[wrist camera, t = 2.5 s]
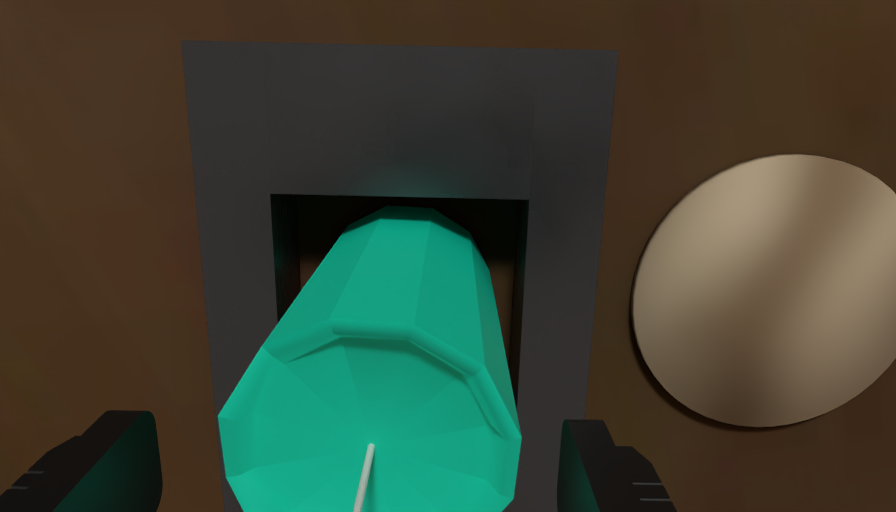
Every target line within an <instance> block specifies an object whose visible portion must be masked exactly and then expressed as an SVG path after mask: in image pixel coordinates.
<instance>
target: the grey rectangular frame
mask: <svg viewBox="0 0 896 512" xmlns="http://www.w3.org/2000/svg"><path fill="white" fill-rule="evenodd" d="M181 43H182V54H183V65H184V76H185V87H186V98H187V109H188V119H189V130H190V141H191V152H192V163H193V174H194V185H195V196H196V207H197V218H198V229H199V240H200V250H201V261H202V272H203V283H204V294H205V305H206V316H207V327H208V338H209V349H210V360H211V370H212V381H213V392H214V403H215V414H216V425H217V436H218V447H219V458H220V469H221V480H222V491H223V501H224V512H244V511H243V509H242V507H241V505H240V504H239V502H238V500H237V498H236V496H235V494H234V492H233V490H232V488H231V486H230V484H229V482H228V480H227V479H226V474H225V466H224V459H223V452H222V444H221V437H220V429H219V422H218V415H219V413H220V412H221V410H222V408H223V407H224V405H225V404H226V402H227V400H228V399H229V397H230V396H231V394H232V392H233V391H234V389H235V388H236V386H237V385H238V383H239V381H240V380H241V378H242V377H243V375H244V373H245V372H246V370H247V369H248V367H249V365H250V364H251V362H252V361H253V359H254V358H255V356H256V354H257V353H258V351H259V350H260V348H261V346H262V345H263V344H264V342H265V341H266V339H267V338H268V337H269V335H270V334H271V332H272V331H273V330H274V328H275V327H276V325H277V324H278V323H279V321H280V320H281V318H282V317H283V316H284V314H285V313H286V311H287V310H288V309H289V307H290V306H291V304H292V303H293V302H294V300H295V299H296V297H297V296H298V295H299V293H300V292H301V290H300V269H299V247H298V226H297V204H296V194H306V195H349V196H392V197H435V198H479V199H518V209H517V228H516V247H515V265H514V284H513V302H512V321H511V340H510V358H509V374H510V380H511V385H512V390H513V395H514V400H515V405H516V411H517V416H518V421H519V426H520V431H521V437H522V440H521V447H520V454H519V462H518V469H517V477H516V484H515V491H514V499H513V500H512V501H511V502H510V503H509V504H508V505H507V507H506V508H505V509H504V510H503V511H502V512H558V510H557V481H558V469H559V457H560V444H561V432H562V425H563V422H564V420H565V419H575V420H584V417H585V406H586V395H587V384H588V373H589V363H590V352H591V341H592V330H593V320H594V309H595V298H596V287H597V276H598V266H599V255H600V244H601V233H602V222H603V212H604V201H605V190H606V179H607V169H608V158H609V147H610V136H611V125H612V115H613V104H614V93H615V82H616V72H617V61H618V50H578V49H534V48H489V47H445V46H401V45H356V44H312V43H268V42H223V41H181Z"/></svg>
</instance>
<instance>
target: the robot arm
mask: <svg viewBox="0 0 896 512" xmlns="http://www.w3.org/2000/svg"><path fill="white" fill-rule="evenodd" d="M162 484H163V481H162V472H161V464H160V455H159V447H158V439H157V431H156V423H155V419H154V416H153V414H152V413H151V412H149V411H122V410H110V411H107V412H105V413H104V414H103V415H102V416H101V417H100V418H99V419H98V420H97V421H96V422H94V423H93V424H92V425H91V426H90V427H89V428H88V429H87V430H86V431H85V432H84V433H83V434H82V435H81V436H75V437H73V438H71V439H69V440H67V441H66V442H64V443H62V444H60V445H58V446H57V447H55V448H53V449H51V450H50V451H48V452H47V453H46V454H45V455H43V456H42V457H41V458H40V459H39V460H38V461H37V462H36V463H35V464H34V465H33V466H32V467H31V468H30V469H29V470H28V473H27V474H23V475H22V476H21V477H20V478H19V479H18V480H17V481H16V482H15V483H14V484H12V487H11V489H7V490H6V491H5V492H4V493H3V494H2V495H1V496H0V512H156V511H157V509H158V506H159V503H160V499H161V494H162ZM557 510H558V512H677V510H676V508H675V507H674V505H673V503H672V502H670V497H669V495H668V493H667V492H666V490H665V488H664V486H662V485H661V480H660V479H659V477H658V475H657V473H656V471H655V469H654V467H653V465H652V464H651V462H649V461H648V460H647V459H646V458H645V457H643V456H642V455H641V454H640V453H639V452H638V451H636V450H635V449H634V448H633V447H627V446H615V444H614V442H613V440H612V437H611V435H610V433H609V431H608V429H607V427H606V424H605V423H604V421H603V420H575V419H565V420H564V422H563V425H562V432H561V444H560V457H559V469H558V481H557Z"/></svg>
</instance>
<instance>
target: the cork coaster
mask: <svg viewBox="0 0 896 512" xmlns="http://www.w3.org/2000/svg"><path fill="white" fill-rule="evenodd" d="M630 310H631V320H632V327H633V331H634V335H635V339H636V343H637V345H638V347H639V350H640V352H641V355H642V357H643V359H644V360H645V362H646V364H647V365H648V367H649V369H650V370H651V372H652V373H653V375H654V376H655V377H656V379H657V380H658V381H659V382H660V384H661V385H662V386H663V387H664V388H665V389H666V390H667V391H668V392H669V393H670V394H671V395H672V396H673V397H674V398H675V399H677V400H678V401H679V402H681V403H682V404H684V405H685V406H687V407H688V408H690V409H691V410H693V411H695V412H697V413H699V414H701V415H703V416H705V417H708V418H711V419H714V420H717V421H720V422H724V423H728V424H733V425H738V426H750V427H771V426H780V425H787V424H793V423H796V422H800V421H804V420H808V419H811V418H814V417H816V416H819V415H822V414H824V413H827V412H829V411H831V410H833V409H835V408H837V407H839V406H841V405H843V404H844V403H846V402H847V401H849V400H851V399H852V398H854V397H855V396H857V395H858V394H860V393H861V392H862V391H863V390H865V389H866V388H867V387H868V386H870V385H871V384H872V383H873V382H874V381H875V380H876V379H877V378H878V377H879V376H880V375H881V374H882V373H883V372H884V371H885V370H886V369H887V368H888V367H889V366H890V365H891V363H892V362H893V361H894V359H895V358H896V194H895V193H894V192H893V191H892V190H891V189H890V188H889V187H888V186H887V185H885V184H884V183H883V182H882V181H880V180H879V179H878V178H876V177H875V176H873V175H871V174H869V173H868V172H866V171H864V170H862V169H861V168H858V167H855V166H853V165H850V164H848V163H845V162H842V161H838V160H834V159H829V158H825V157H820V156H815V155H804V154H780V155H772V156H766V157H760V158H755V159H752V160H749V161H745V162H742V163H739V164H736V165H734V166H731V167H729V168H727V169H725V170H722V171H720V172H718V173H716V174H715V175H713V176H711V177H709V178H708V179H706V180H704V181H703V182H701V183H700V184H698V185H697V186H696V187H694V188H693V189H692V190H690V191H689V192H688V193H686V194H685V195H684V196H683V197H682V198H681V199H680V200H679V201H678V202H677V203H676V204H675V205H674V206H673V207H672V208H671V209H670V210H669V211H668V212H667V213H666V215H665V216H664V217H663V218H662V220H661V221H660V222H659V223H658V225H657V226H656V228H655V229H654V231H653V232H652V234H651V236H650V237H649V239H648V241H647V243H646V245H645V247H644V249H643V251H642V253H641V255H640V258H639V261H638V264H637V267H636V270H635V273H634V278H633V284H632V289H631V306H630Z"/></svg>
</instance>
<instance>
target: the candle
mask: <svg viewBox="0 0 896 512" xmlns="http://www.w3.org/2000/svg"><path fill="white" fill-rule="evenodd" d="M218 422H219V429H220V437H221V444H222V452H223V459H224V466H225V474H226V479H227V480H228V482H229V484H230V486H231V488H232V490H233V492H234V494H235V496H236V498H237V500H238V502H239V504H240V505H241V507H242V509H243V511H244V512H502V511H503V510H504V509H505V508H506V507H507V505H508V504H509V503H510V502H511V501H512V500H513V499H514V491H515V484H516V477H517V469H518V462H519V454H520V447H521V440H522V437H521V431H520V426H519V421H518V416H517V411H516V405H515V400H514V395H513V390H512V385H511V380H510V374H509V369H508V364H507V359H506V354H505V349H504V343H503V338H502V333H501V328H500V323H499V318H498V312H497V307H496V302H495V297H494V292H493V287H492V281H491V276H490V271H489V268H488V267H487V265H486V263H485V261H484V259H483V257H482V255H481V253H480V251H479V249H478V247H477V245H476V243H475V241H474V239H473V237H472V235H471V233H470V232H469V231H468V230H466V229H464V228H463V227H461V226H460V225H458V224H457V223H455V222H454V221H452V220H450V219H449V218H447V217H446V216H444V215H443V214H441V213H439V212H438V211H436V210H435V209H433V208H424V207H406V206H388V205H387V206H385V207H383V208H381V209H379V210H377V211H375V212H373V213H371V214H369V215H367V216H365V217H363V218H361V219H359V220H357V221H355V222H353V223H351V224H349V225H348V226H347V227H346V229H345V230H344V231H343V233H342V234H341V236H340V237H339V238H338V240H337V241H336V243H335V244H334V245H333V247H332V248H331V250H330V251H329V252H328V254H327V255H326V257H325V258H324V259H323V261H322V262H321V264H320V265H319V266H318V268H317V269H316V271H315V272H314V273H313V275H312V276H311V278H310V279H309V280H308V282H307V283H306V285H305V286H304V288H303V289H302V290H301V292H300V293H299V295H298V296H297V297H296V299H295V300H294V302H293V303H292V304H291V306H290V307H289V309H288V310H287V311H286V313H285V314H284V316H283V317H282V318H281V320H280V321H279V323H278V324H277V325H276V327H275V328H274V330H273V331H272V332H271V334H270V335H269V337H268V338H267V339H266V341H265V342H264V344H263V345H262V346H261V348H260V350H259V351H258V353H257V354H256V356H255V358H254V359H253V361H252V362H251V364H250V365H249V367H248V369H247V370H246V372H245V373H244V375H243V377H242V378H241V380H240V381H239V383H238V385H237V386H236V388H235V389H234V391H233V392H232V394H231V396H230V397H229V399H228V400H227V402H226V404H225V405H224V407H223V408H222V410H221V412H220V413H219V415H218Z"/></svg>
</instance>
